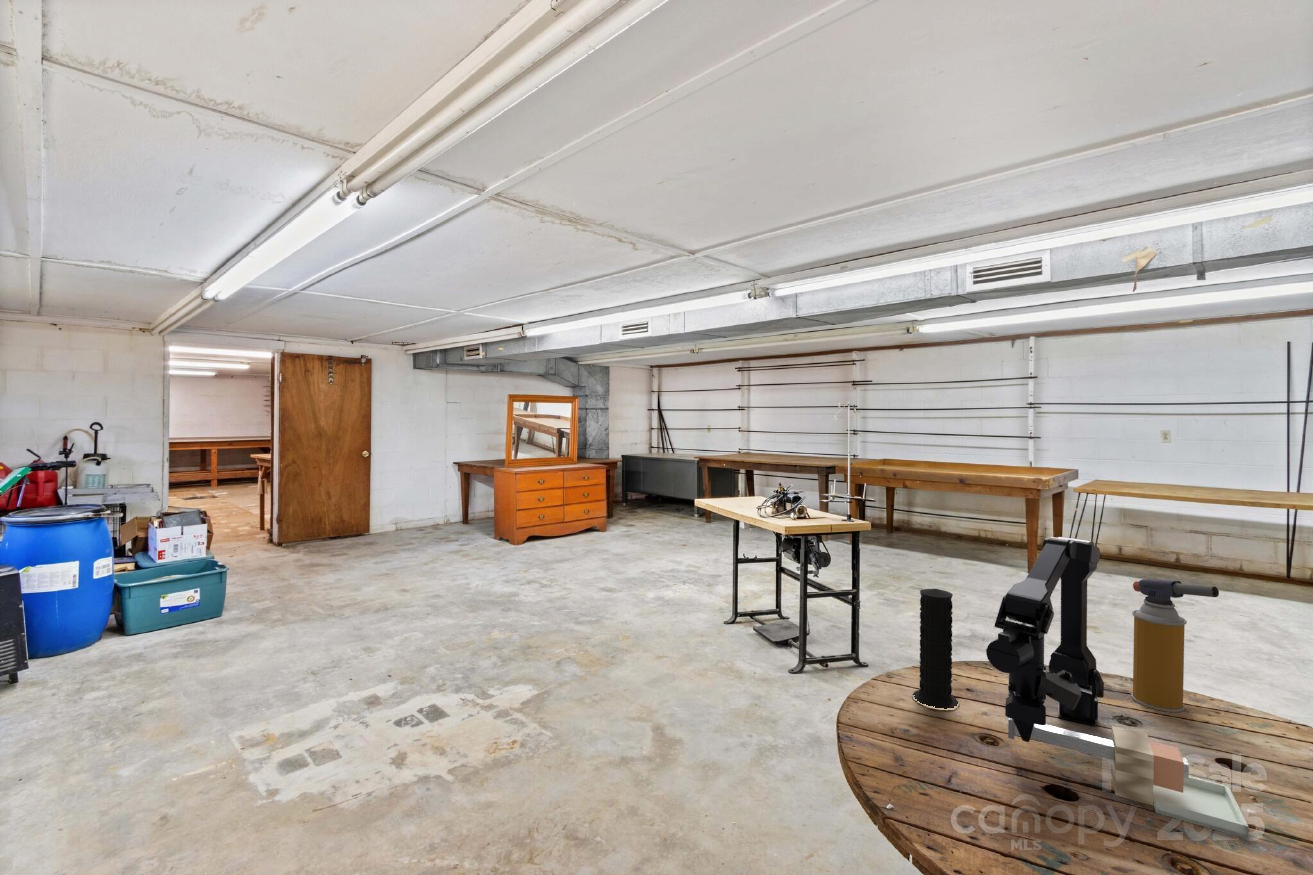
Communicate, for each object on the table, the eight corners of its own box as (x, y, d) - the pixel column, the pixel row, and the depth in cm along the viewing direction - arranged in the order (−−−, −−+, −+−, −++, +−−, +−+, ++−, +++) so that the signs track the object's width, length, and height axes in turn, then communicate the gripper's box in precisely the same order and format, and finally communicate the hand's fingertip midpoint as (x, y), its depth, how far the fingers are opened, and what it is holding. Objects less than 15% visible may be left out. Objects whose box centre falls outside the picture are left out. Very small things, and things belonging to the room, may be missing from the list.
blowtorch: (1148, 689, 139) (1150, 566, 138) (1229, 723, 124) (1232, 585, 123) (1118, 694, 137) (1120, 569, 136) (1197, 729, 121) (1200, 588, 120)
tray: (1155, 812, 96) (1155, 800, 96) (1145, 775, 106) (1145, 764, 106) (1248, 839, 90) (1248, 826, 90) (1227, 796, 100) (1228, 785, 100)
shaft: (1008, 737, 111) (1008, 719, 111) (1009, 729, 114) (1009, 711, 114) (1189, 784, 96) (1189, 763, 96) (1184, 773, 100) (1185, 752, 99)
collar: (1152, 784, 99) (1152, 754, 98) (1147, 769, 103) (1148, 740, 103) (1183, 792, 96) (1183, 762, 96) (1177, 776, 101) (1177, 747, 101)
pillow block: (1115, 795, 100) (1116, 746, 100) (1111, 771, 107) (1111, 725, 107) (1152, 805, 98) (1153, 755, 97) (1146, 780, 104) (1146, 733, 104)
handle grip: (962, 697, 136) (917, 686, 142) (963, 586, 135) (917, 580, 141) (955, 715, 128) (907, 702, 133) (956, 597, 127) (908, 590, 133)
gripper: (1081, 687, 98) (1080, 776, 99) (1075, 650, 114) (1074, 727, 114) (1005, 672, 105) (1004, 756, 105) (1009, 639, 120) (1009, 712, 120)
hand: (1025, 737), depth 111 cm, fingers closed on shaft, 2 cm apart
